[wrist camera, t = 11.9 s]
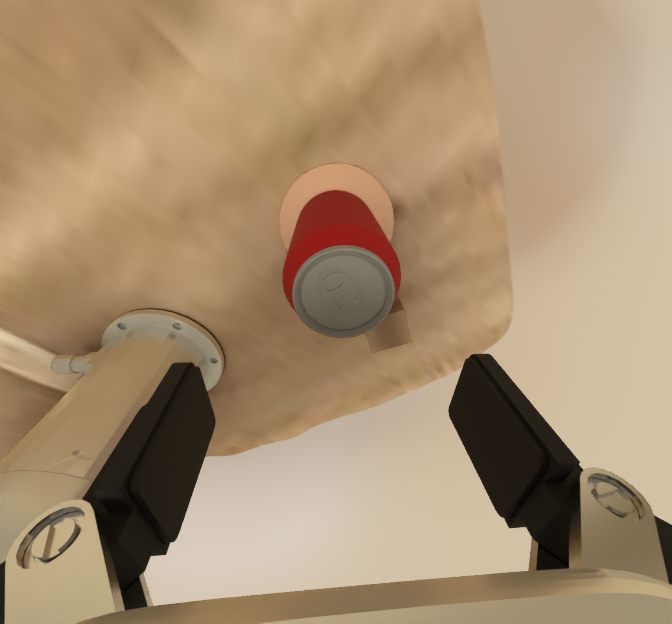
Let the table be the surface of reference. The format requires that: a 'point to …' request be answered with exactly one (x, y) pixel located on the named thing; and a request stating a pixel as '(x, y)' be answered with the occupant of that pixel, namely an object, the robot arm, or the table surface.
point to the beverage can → (340, 267)
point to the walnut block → (390, 330)
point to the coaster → (335, 179)
